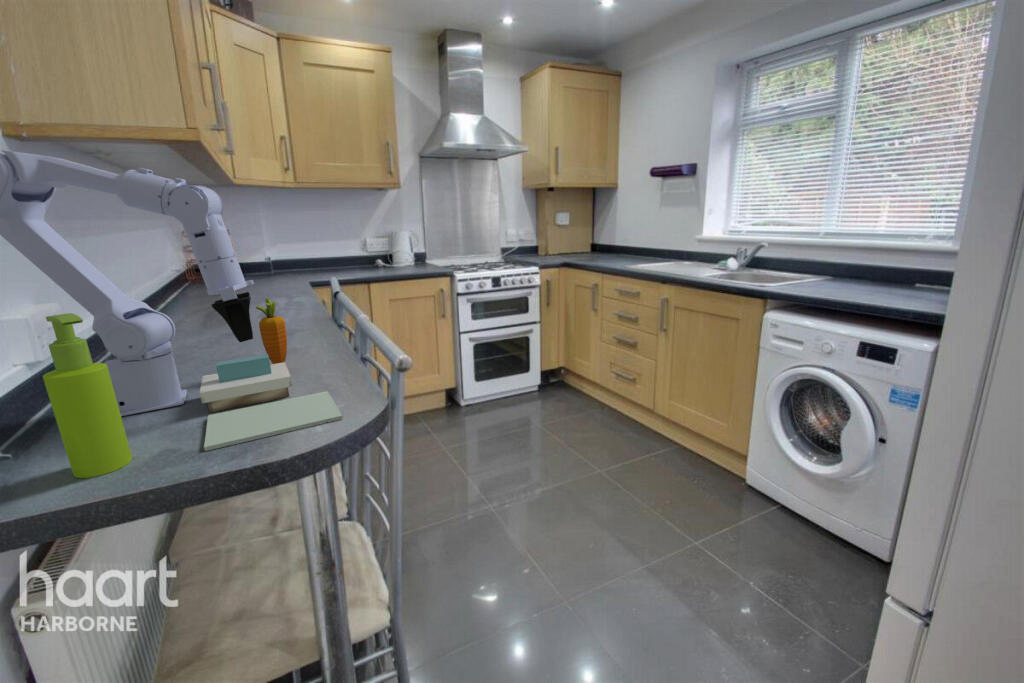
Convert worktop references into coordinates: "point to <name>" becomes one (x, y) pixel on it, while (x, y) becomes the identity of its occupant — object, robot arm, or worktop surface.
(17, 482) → the worktop surface
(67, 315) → the soap dispenser
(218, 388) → the lid
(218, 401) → the storage box
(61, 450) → the worktop surface
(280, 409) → the mat
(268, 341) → the carrot
